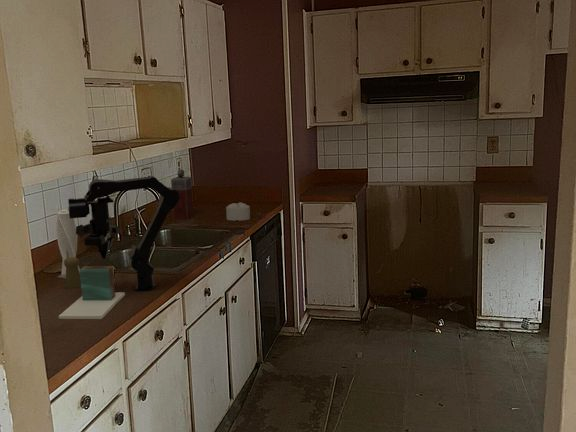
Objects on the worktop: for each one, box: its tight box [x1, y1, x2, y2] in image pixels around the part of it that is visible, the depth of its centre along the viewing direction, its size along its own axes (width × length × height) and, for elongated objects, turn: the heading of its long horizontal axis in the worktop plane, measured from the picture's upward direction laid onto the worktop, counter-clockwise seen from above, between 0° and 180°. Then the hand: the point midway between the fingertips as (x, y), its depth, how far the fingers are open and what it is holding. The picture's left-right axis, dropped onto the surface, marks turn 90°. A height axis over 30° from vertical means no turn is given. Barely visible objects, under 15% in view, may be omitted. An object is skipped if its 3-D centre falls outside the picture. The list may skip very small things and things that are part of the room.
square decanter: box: [170, 169, 195, 220], centre depth 328 cm, size 9×11×28 cm
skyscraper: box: [55, 205, 81, 280], centre depth 225 cm, size 8×8×28 cm
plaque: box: [80, 265, 116, 300], centre depth 196 cm, size 4×10×11 cm, turn 87°
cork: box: [64, 257, 81, 290], centre depth 213 cm, size 6×6×11 cm
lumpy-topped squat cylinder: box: [225, 202, 251, 222], centre depth 324 cm, size 10×13×9 cm
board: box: [58, 291, 126, 320], centre depth 193 cm, size 22×14×1 cm, turn 177°
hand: (104, 258), depth 203 cm, fingers closed
